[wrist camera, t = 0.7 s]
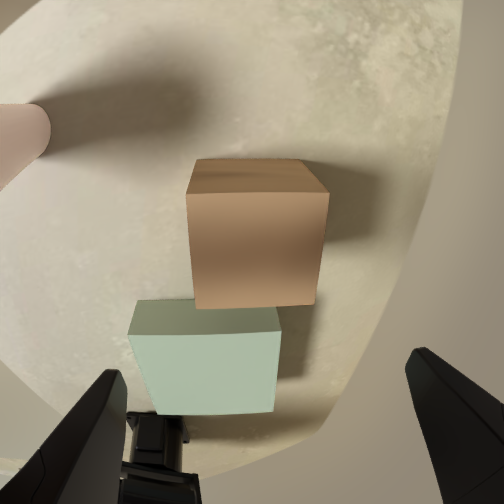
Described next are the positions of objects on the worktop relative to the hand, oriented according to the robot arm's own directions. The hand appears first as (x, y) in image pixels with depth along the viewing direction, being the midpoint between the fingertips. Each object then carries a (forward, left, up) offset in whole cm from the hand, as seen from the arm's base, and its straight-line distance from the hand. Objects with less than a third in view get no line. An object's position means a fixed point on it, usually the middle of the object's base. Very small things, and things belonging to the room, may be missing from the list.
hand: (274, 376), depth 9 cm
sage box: (-12, +3, -13) cm, 18 cm away
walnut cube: (0, 0, -13) cm, 13 cm away
